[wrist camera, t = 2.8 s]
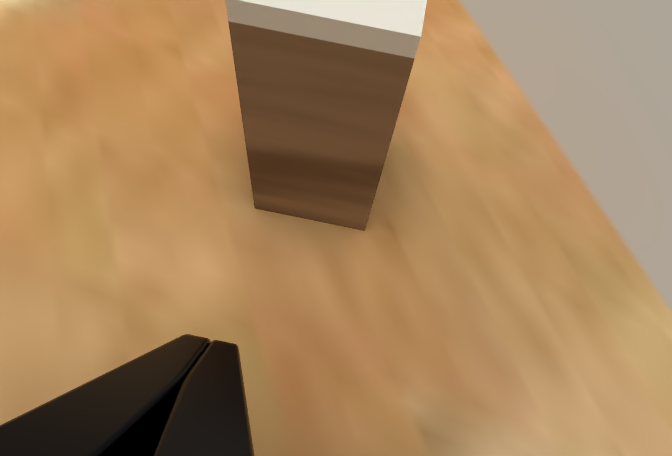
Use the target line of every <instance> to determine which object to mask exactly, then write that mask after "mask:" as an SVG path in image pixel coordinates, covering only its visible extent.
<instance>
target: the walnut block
mask: <svg viewBox="0 0 672 456" xmlns="http://www.w3.org/2000/svg"><path fill="white" fill-rule="evenodd" d="M426 3H427V0H226V7H227V15H228V22H229V29H230V36H231V43H232V50H233V57H234V64H235V71H236V78H237V85H238V93H239V100H240V107H241V114H242V121H243V128H244V135H245V142H246V149H247V156H248V163H249V170H250V178H251V185H252V192H253V199H254V206H255V208H257V209H262V210H266V211H271V212H276V213H281V214H286V215H291V216H296V217H301V218H305V219H310V220H315V221H320V222H325V223H330V224H335V225H340V226H344V227H349V228H354V229H359V230H364V231H365V228H366V224H367V221H368V217H369V214H370V210H371V207H372V204H373V200H374V197H375V193H376V190H377V186H378V183H379V179H380V176H381V172H382V169H383V166H384V162H385V159H386V155H387V152H388V148H389V145H390V141H391V138H392V134H393V131H394V128H395V124H396V121H397V117H398V114H399V110H400V107H401V103H402V100H403V96H404V93H405V90H406V86H407V83H408V79H409V76H410V72H411V69H412V65H413V62H414V58H415V55H416V52H417V48H418V45H419V41H420V38H421V33H422V27H423V21H424V15H425V9H426Z"/></svg>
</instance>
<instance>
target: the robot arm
mask: <svg viewBox="0 0 672 456" xmlns="http://www.w3.org/2000/svg"><path fill="white" fill-rule="evenodd" d="M0 456H254V451H253V444H252V437H251V431H250V424H249V417H248V410H247V403H246V396H245V389H244V383H243V376H242V369H241V362H240V355H239V349H238V346H237V345H236V344H233V343H228V342H223V341H218V340H214V341H212V342H211V341H210V340H209V339H208V338H204V337H199V336H194V335H189V334H185V335H182V336H180V337H178V338H176V339H174V340H172V341H170V342H168V343H166V344H164V345H162V346H160V347H158V348H156V349H154V350H152V351H150V352H148V353H146V354H144V355H142V356H140V357H138V358H136V359H134V360H132V361H130V362H128V363H126V364H124V365H122V366H120V367H118V368H116V369H114V370H112V371H110V372H107V373H105V374H103V375H101V376H99V377H97V378H95V379H93V380H91V381H89V382H87V383H85V384H83V385H81V386H79V387H77V388H75V389H73V390H71V391H69V392H67V393H65V394H63V395H61V396H59V397H57V398H55V399H53V400H51V401H49V402H47V403H45V404H43V405H41V406H39V407H37V408H35V409H33V410H31V411H29V412H27V413H25V414H22V415H20V416H18V417H16V418H14V419H12V420H10V421H8V422H6V423H4V424H2V425H0Z"/></svg>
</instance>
